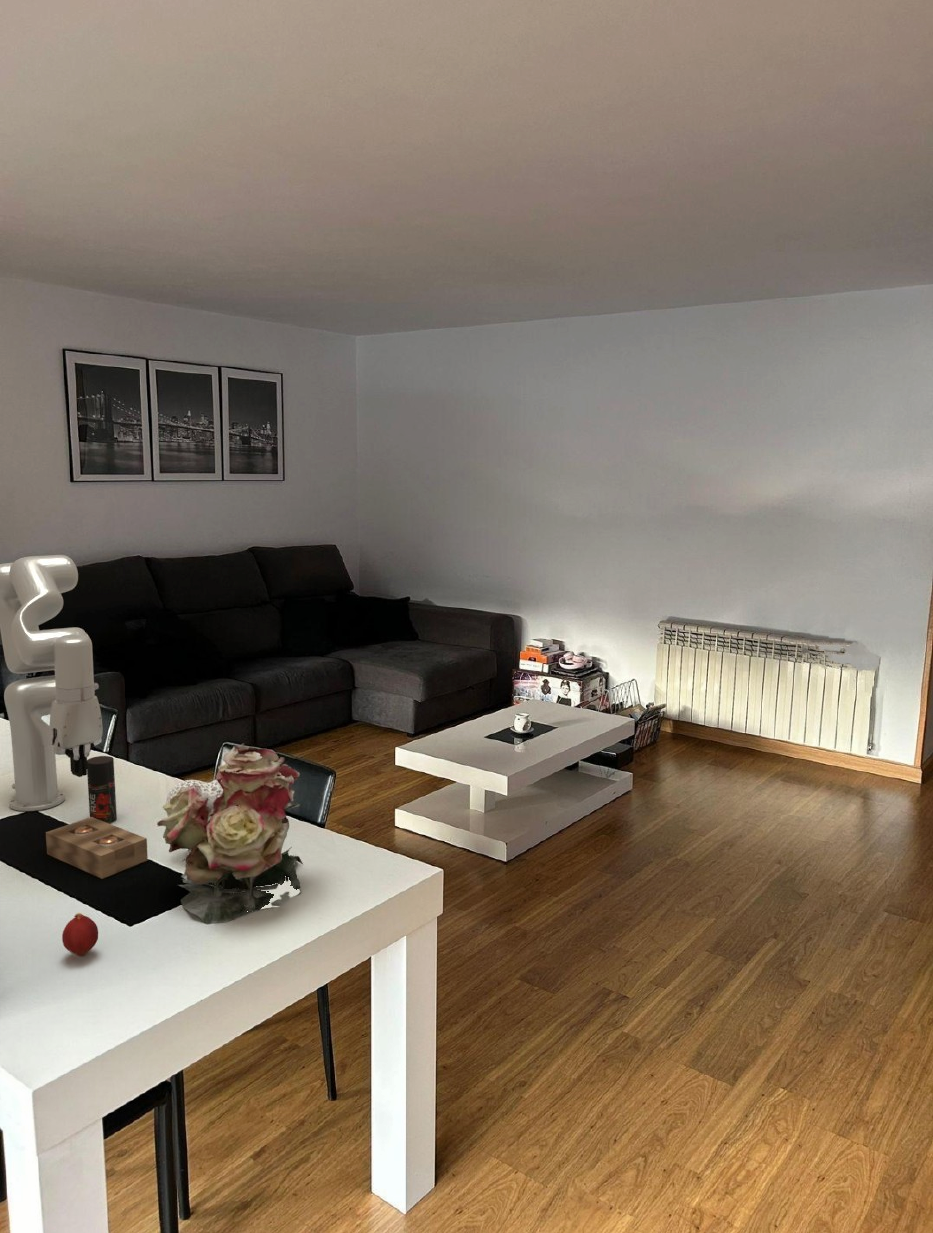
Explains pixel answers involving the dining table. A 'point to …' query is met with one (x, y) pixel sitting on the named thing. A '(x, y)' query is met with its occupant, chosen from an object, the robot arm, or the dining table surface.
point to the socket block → (97, 847)
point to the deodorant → (102, 788)
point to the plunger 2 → (108, 841)
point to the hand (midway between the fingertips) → (79, 774)
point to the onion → (80, 935)
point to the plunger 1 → (83, 830)
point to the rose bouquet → (234, 835)
